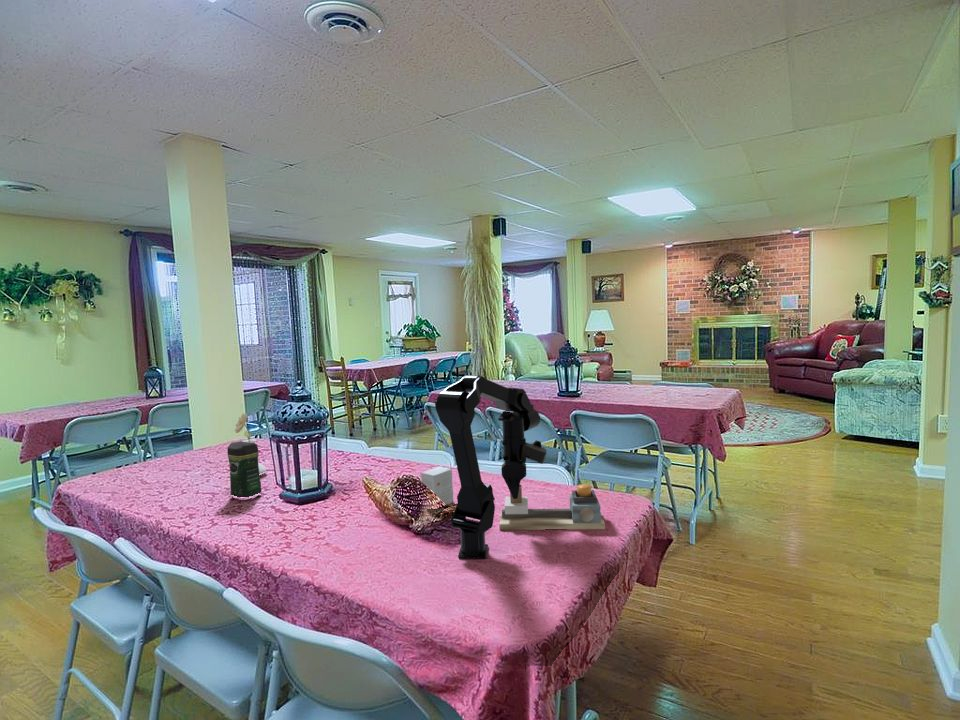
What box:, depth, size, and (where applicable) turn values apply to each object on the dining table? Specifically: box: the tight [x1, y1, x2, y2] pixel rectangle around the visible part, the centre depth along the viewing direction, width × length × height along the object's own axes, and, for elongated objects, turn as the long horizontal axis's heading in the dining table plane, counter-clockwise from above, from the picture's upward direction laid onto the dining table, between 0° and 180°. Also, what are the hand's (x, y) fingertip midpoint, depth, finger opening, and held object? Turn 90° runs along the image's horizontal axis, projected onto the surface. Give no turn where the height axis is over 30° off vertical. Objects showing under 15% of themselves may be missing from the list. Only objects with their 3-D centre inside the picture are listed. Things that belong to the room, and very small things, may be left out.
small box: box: [420, 465, 454, 505], centre depth 150 cm, size 8×6×10 cm
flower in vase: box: [234, 412, 268, 474], centre depth 188 cm, size 13×11×25 cm
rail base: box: [499, 489, 606, 531], centre depth 134 cm, size 10×27×8 cm, turn 85°
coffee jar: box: [227, 440, 262, 497], centre depth 165 cm, size 10×8×19 cm
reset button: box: [576, 483, 592, 497], centre depth 132 cm, size 4×4×2 cm
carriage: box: [504, 484, 529, 514], centre depth 134 cm, size 7×6×6 cm
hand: (515, 492), depth 134 cm, fingers open, 9 cm apart
